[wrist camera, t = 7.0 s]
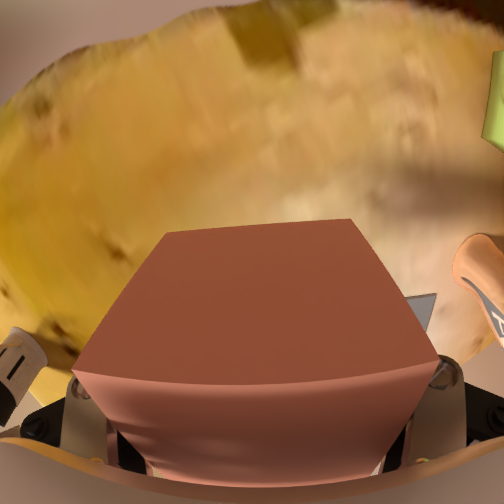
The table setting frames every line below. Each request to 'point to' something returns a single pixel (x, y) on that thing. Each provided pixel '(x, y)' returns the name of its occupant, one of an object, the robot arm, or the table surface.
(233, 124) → the table surface
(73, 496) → the robot arm
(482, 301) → the beer glass
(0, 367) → the grey and black mug
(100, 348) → the block
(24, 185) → the table surface
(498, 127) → the kettle
